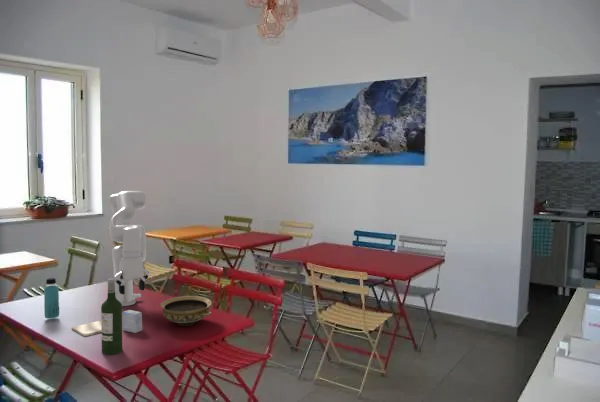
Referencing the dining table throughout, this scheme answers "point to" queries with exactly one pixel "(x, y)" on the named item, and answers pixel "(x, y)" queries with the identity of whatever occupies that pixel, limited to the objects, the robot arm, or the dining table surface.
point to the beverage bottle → (51, 299)
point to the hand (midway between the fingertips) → (132, 291)
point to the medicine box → (132, 321)
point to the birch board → (88, 328)
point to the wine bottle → (111, 322)
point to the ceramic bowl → (186, 309)
